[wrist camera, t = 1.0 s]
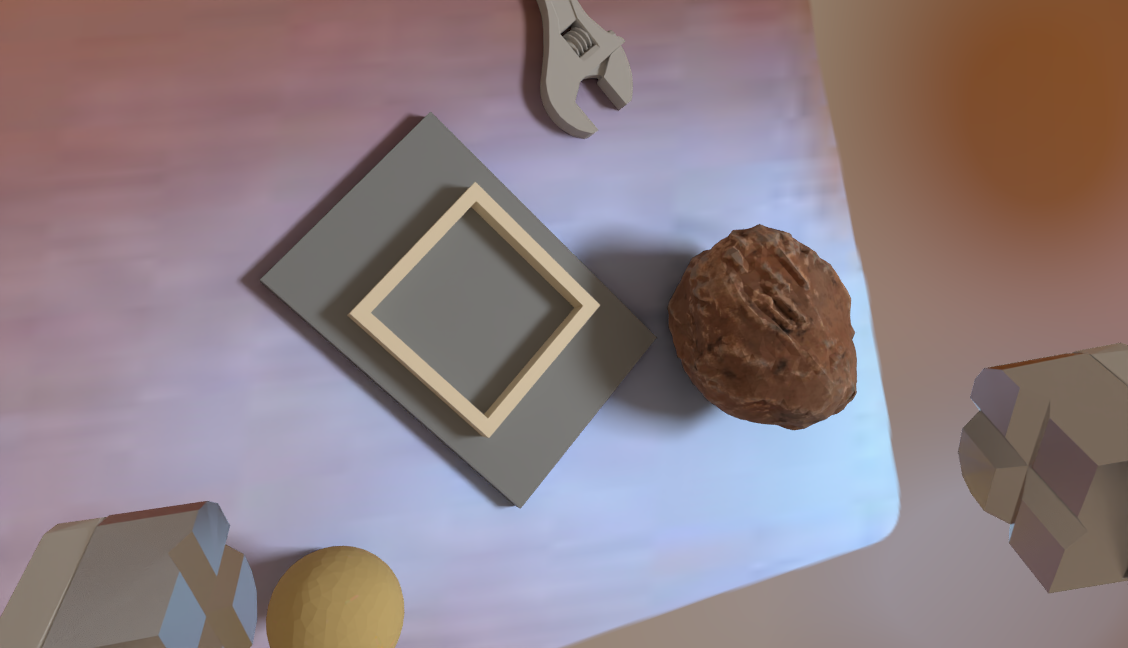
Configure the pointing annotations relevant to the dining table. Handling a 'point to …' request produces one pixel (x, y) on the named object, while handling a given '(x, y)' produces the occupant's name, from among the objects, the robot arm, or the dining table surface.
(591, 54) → the adjustable wrench
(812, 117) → the dining table surface
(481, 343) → the board
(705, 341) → the decorative rock
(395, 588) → the light bulb
